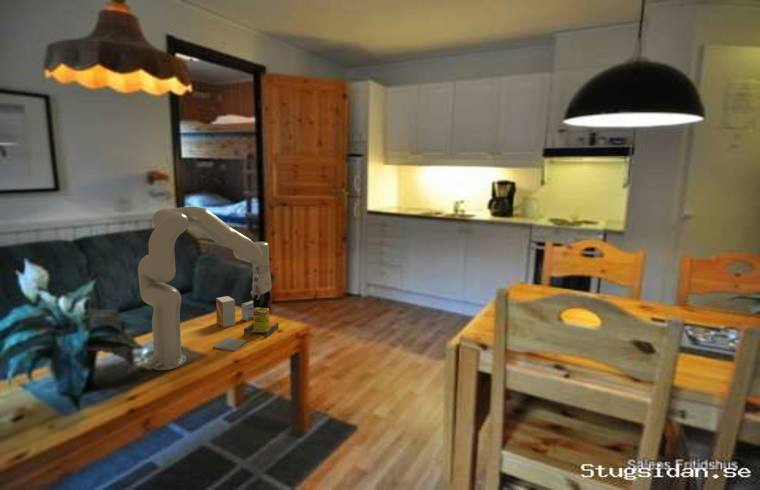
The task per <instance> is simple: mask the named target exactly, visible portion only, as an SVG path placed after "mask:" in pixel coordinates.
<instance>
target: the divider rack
mask: <svg viewBox="0 0 760 490" xmlns="http://www.w3.org/2000/svg"><path fill="white" fill-rule="evenodd" d="M277 330H279V322H275V323H273V324H272V325H271V326H269V328H268V329H266V330H265V331H264V334H263V338H264V339H267V338H268V337H270V336H271V335H272V334H273V333H274V332H276V331H277ZM251 332H254V323H253V322H252V323H250V324H248V325H247V326H246V327H244V328H243V335H245V336H247V335H248V334H251Z"/></svg>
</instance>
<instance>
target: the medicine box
mask: <svg viewBox="0 0 760 490" xmlns="http://www.w3.org/2000/svg"><path fill="white" fill-rule="evenodd" d="M257 308H258V307H253V299H252V300H249V301H246V302H244V303H241V320H242V321H245V322H250V321H253V320H252V319H253V312H254V311H255V310H256V309H257Z"/></svg>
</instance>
